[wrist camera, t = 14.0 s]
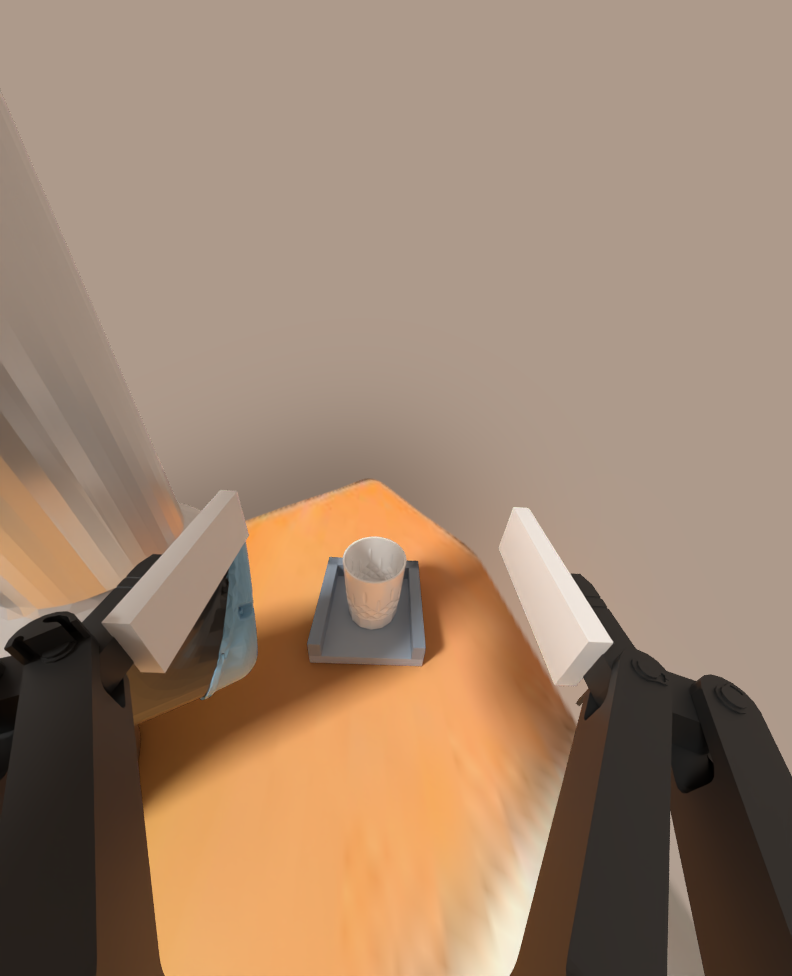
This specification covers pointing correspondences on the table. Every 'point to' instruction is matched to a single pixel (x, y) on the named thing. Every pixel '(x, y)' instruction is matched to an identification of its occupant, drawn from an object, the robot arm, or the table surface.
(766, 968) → the robot arm
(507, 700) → the table surface
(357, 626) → the dock
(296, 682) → the table surface
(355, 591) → the white cup
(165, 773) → the table surface
